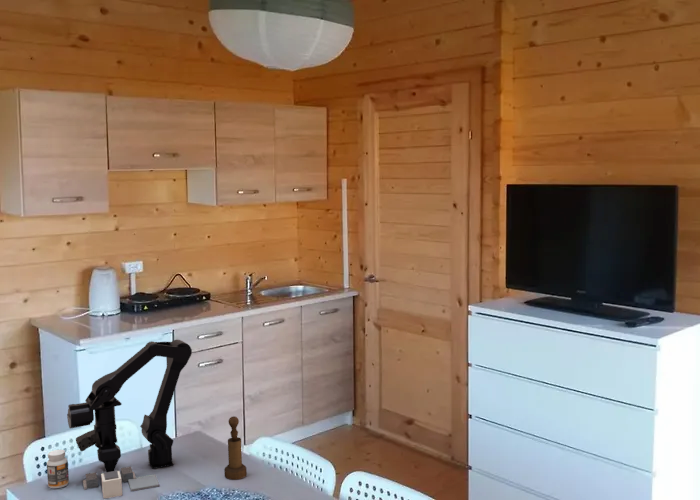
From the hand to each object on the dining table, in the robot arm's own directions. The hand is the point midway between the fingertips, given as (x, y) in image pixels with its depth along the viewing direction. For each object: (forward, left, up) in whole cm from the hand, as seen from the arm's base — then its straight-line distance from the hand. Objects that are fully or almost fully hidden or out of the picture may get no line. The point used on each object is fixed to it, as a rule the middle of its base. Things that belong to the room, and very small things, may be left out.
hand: (108, 471), depth 219 cm
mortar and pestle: (-35, +17, -1) cm, 39 cm away
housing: (0, +5, -1) cm, 5 cm away
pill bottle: (+14, +1, -1) cm, 14 cm away
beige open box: (0, +13, -1) cm, 13 cm away
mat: (-9, +11, -1) cm, 14 cm away
